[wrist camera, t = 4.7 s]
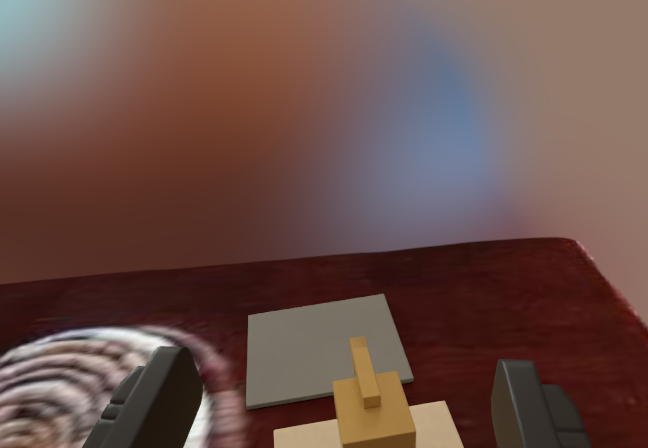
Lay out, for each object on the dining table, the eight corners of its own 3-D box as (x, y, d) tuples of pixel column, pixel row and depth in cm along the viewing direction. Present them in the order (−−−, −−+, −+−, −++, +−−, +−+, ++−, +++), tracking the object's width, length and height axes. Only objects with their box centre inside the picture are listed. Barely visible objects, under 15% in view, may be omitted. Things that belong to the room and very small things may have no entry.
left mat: (246, 410, 41) (245, 406, 41) (249, 318, 51) (248, 315, 51) (413, 382, 42) (413, 378, 42) (383, 297, 52) (383, 293, 52)
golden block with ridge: (353, 530, 29) (341, 433, 23) (338, 440, 34) (325, 341, 28) (413, 519, 29) (417, 420, 23) (389, 431, 34) (387, 331, 28)
